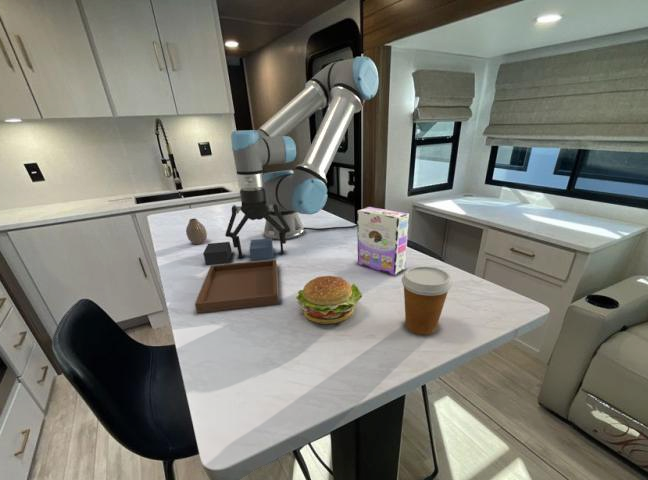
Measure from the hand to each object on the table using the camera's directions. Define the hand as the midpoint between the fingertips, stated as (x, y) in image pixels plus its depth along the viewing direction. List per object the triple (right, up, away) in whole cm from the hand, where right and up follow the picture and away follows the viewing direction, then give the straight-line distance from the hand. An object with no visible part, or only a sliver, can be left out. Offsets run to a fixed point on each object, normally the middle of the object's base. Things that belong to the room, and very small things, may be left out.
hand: (261, 254), depth 106 cm
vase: (-27, +6, +13) cm, 31 cm away
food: (+23, -18, -33) cm, 44 cm away
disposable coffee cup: (+43, -21, -39) cm, 61 cm away
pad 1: (-13, -2, -2) cm, 14 cm away
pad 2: (0, 0, 0) cm, 0 cm away
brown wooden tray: (-1, -12, -20) cm, 23 cm away
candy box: (+38, -5, -11) cm, 40 cm away
